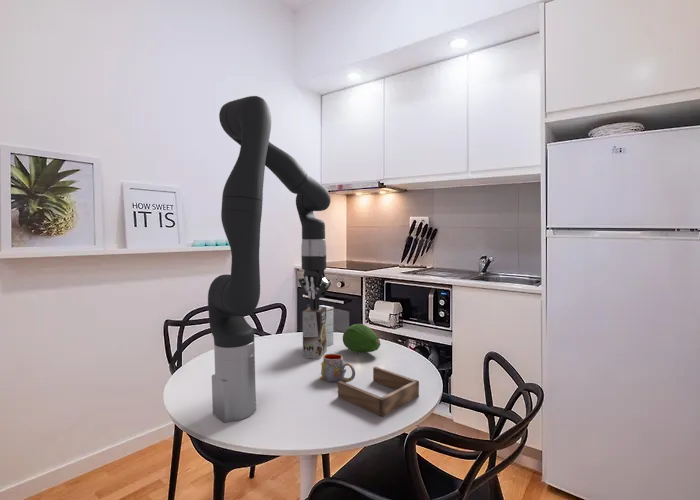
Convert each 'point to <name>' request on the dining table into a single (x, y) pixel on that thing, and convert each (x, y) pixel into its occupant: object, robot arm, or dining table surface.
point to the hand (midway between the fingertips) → (314, 310)
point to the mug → (335, 369)
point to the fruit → (360, 339)
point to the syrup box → (329, 324)
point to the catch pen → (386, 404)
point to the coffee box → (314, 333)
